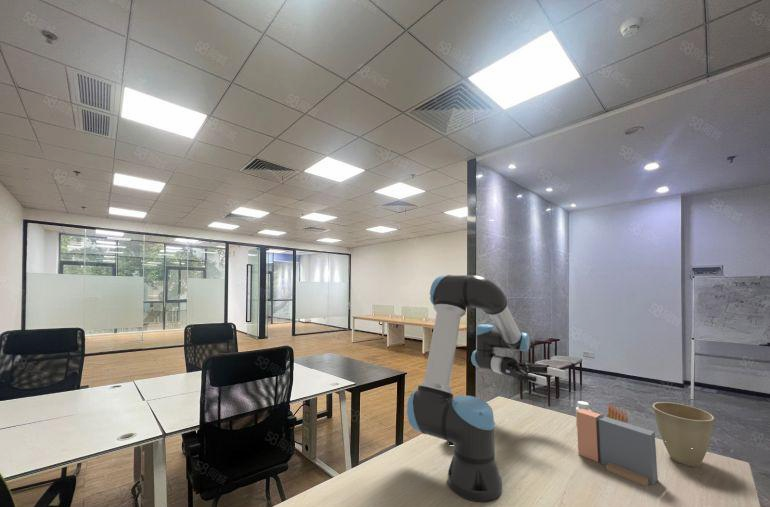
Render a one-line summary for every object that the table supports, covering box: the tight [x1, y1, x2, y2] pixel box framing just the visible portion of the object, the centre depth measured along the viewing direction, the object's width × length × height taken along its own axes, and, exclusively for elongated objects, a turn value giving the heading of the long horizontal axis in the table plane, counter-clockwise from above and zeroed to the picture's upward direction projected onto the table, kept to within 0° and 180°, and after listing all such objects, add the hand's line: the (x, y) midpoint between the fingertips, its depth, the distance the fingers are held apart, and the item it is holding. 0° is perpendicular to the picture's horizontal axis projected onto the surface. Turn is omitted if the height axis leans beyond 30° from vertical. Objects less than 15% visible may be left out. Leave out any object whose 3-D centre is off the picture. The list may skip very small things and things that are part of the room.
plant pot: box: [652, 401, 715, 468], centre depth 107 cm, size 15×15×16 cm
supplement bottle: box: [575, 400, 592, 427], centre depth 130 cm, size 5×5×10 cm
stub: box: [575, 409, 602, 463], centre depth 109 cm, size 6×4×14 cm, turn 36°
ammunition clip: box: [606, 402, 629, 424], centre depth 120 cm, size 11×2×12 cm, turn 178°
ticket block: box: [597, 414, 659, 487], centre depth 101 cm, size 14×9×14 cm, turn 36°
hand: (555, 377), depth 119 cm, fingers open, 13 cm apart
